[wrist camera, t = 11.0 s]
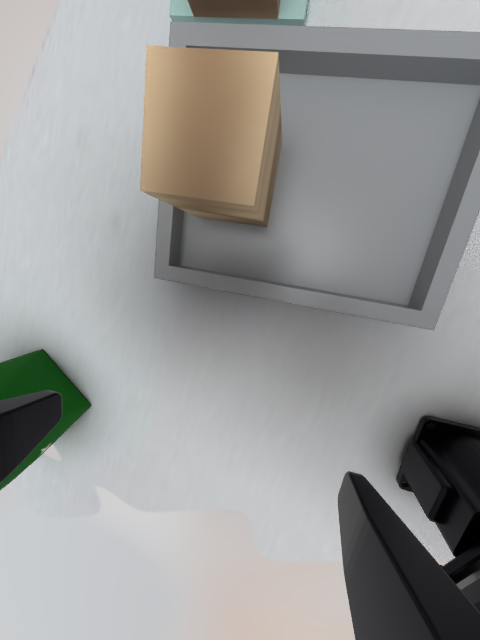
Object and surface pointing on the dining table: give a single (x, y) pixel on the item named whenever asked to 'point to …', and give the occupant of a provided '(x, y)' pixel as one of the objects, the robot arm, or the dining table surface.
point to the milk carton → (35, 377)
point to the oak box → (212, 131)
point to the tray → (349, 174)
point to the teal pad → (289, 15)
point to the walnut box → (235, 8)
